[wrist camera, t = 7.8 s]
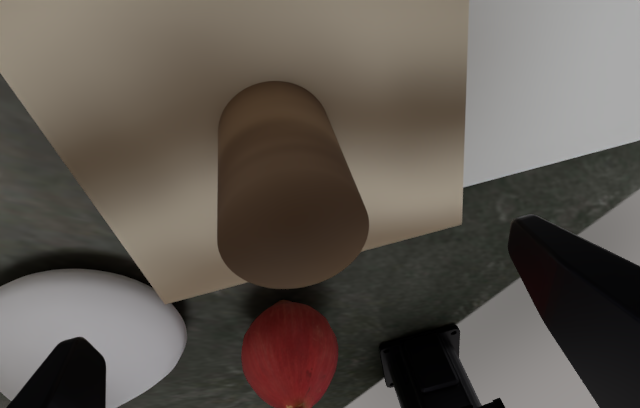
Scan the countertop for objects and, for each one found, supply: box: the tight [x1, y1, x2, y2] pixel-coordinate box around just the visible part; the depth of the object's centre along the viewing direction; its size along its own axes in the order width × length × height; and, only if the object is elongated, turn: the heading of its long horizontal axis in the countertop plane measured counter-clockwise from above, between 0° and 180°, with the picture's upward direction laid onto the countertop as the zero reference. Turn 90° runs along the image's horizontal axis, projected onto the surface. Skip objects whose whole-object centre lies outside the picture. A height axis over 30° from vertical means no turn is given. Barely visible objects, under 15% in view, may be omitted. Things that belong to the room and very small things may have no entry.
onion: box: [241, 300, 338, 408], centre depth 26 cm, size 6×6×8 cm
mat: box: [463, 0, 640, 187], centre depth 20 cm, size 15×15×1 cm
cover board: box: [0, 0, 469, 304], centre depth 12 cm, size 13×13×6 cm
